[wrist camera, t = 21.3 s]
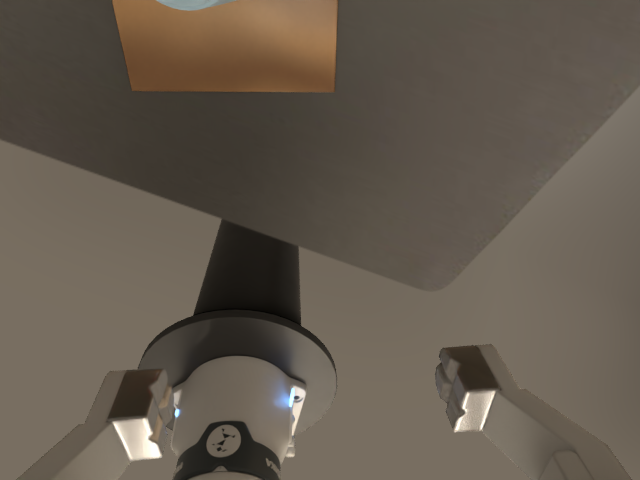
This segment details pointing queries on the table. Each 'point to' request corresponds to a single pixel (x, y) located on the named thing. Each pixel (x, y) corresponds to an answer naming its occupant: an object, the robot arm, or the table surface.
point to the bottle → (193, 4)
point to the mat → (230, 46)
